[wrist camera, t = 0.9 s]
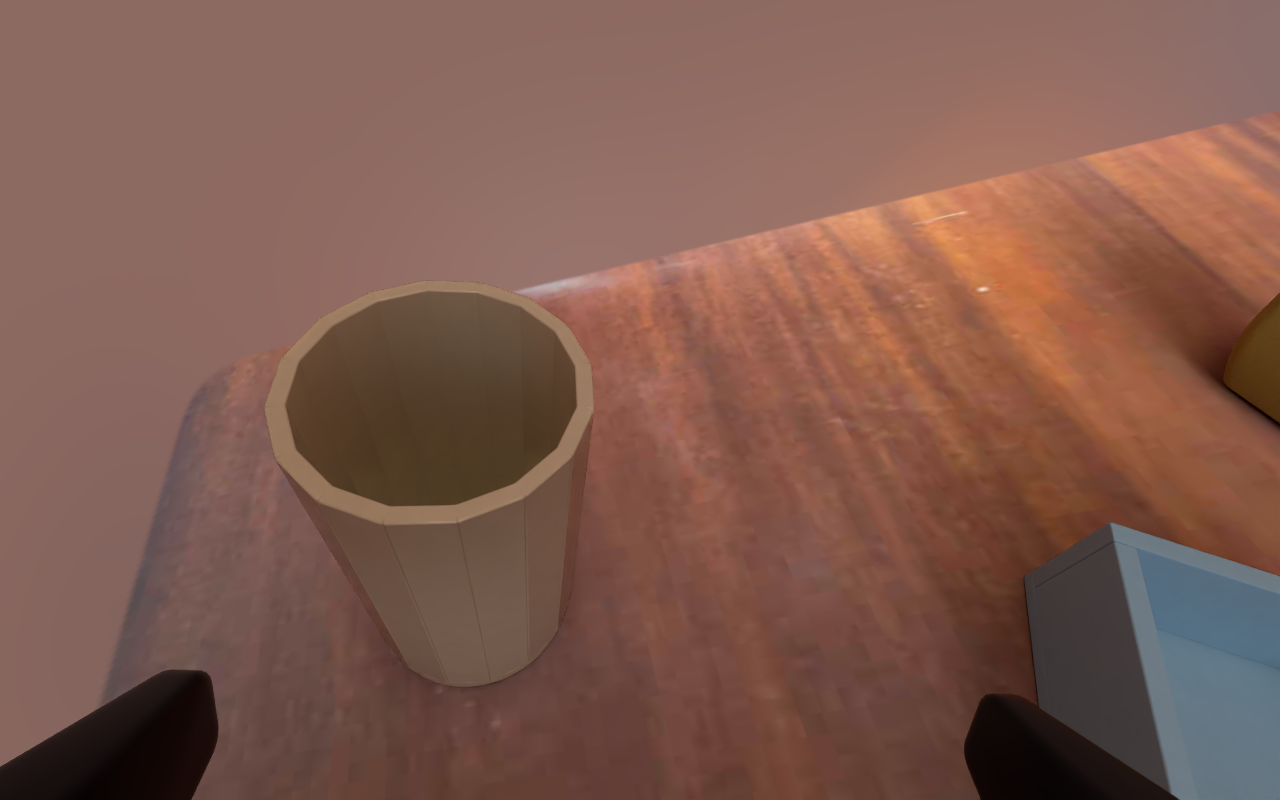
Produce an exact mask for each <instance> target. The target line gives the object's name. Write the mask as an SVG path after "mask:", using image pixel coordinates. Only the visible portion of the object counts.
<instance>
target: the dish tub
mask: <svg viewBox="0 0 1280 800" xmlns="http://www.w3.org/2000/svg"><path fill="white" fill-rule="evenodd" d="M1024 581H1025V590H1026V598H1027V607H1028V616H1029V624H1030V633H1031V642H1032V651H1033V659H1034V668H1035V677H1036V685H1037V694H1038V703H1039V708H1041V709H1042V710H1044V711H1045V712H1047V713H1048V714H1050V715H1051V716H1053V717H1054V718H1056V719H1057V720H1059V721H1061V722H1062V723H1064V724H1065V725H1067V726H1068V727H1070V728H1071V729H1073V730H1074V731H1076V732H1077V733H1079V734H1080V735H1082V736H1083V737H1085V738H1086V739H1088V740H1090V741H1091V742H1093V743H1094V744H1096V745H1097V746H1099V747H1100V748H1102V749H1103V750H1105V751H1106V752H1108V753H1109V754H1111V755H1112V756H1114V757H1116V758H1117V759H1119V760H1120V761H1122V762H1123V763H1125V764H1126V765H1128V766H1129V767H1131V768H1132V769H1134V770H1135V771H1137V772H1138V773H1140V774H1142V775H1143V776H1145V777H1146V778H1148V779H1149V780H1151V781H1152V782H1154V783H1155V784H1157V785H1158V786H1160V787H1161V788H1163V789H1164V790H1166V791H1168V792H1169V793H1171V794H1172V795H1174V796H1175V797H1177V798H1178V799H1180V800H1280V576H1277V575H1274V574H1271V573H1268V572H1265V571H1261V570H1258V569H1255V568H1252V567H1249V566H1246V565H1243V564H1240V563H1236V562H1233V561H1230V560H1227V559H1224V558H1221V557H1218V556H1215V555H1212V554H1208V553H1205V552H1202V551H1199V550H1196V549H1193V548H1190V547H1187V546H1184V545H1180V544H1177V543H1174V542H1171V541H1168V540H1165V539H1162V538H1159V537H1156V536H1152V535H1149V534H1146V533H1143V532H1140V531H1137V530H1134V529H1131V528H1127V527H1124V526H1121V525H1118V524H1115V523H1112V522H1109V523H1108V524H1106V525H1105V526H1103V527H1101V528H1100V529H1098V530H1097V531H1095V532H1094V533H1092V534H1090V535H1089V536H1087V537H1086V538H1084V539H1083V540H1081V541H1079V542H1078V543H1076V544H1075V545H1073V546H1072V547H1070V548H1068V549H1067V550H1065V551H1064V552H1062V553H1060V554H1059V555H1057V556H1056V557H1054V558H1053V559H1051V560H1049V561H1048V562H1046V563H1045V564H1043V565H1042V566H1040V567H1038V568H1037V569H1035V570H1034V571H1033V572H1031V573H1029V574H1028V575H1026V576H1025V577H1024Z"/></svg>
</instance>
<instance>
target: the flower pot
mask: <svg viewBox="0 0 1280 800" xmlns="http://www.w3.org/2000/svg"><path fill="white" fill-rule="evenodd" d="M1223 381H1224V383H1225V385H1227V386H1228V387H1229V388H1230V389H1232V390H1233V391H1235V392H1236V393H1237V394H1239V395H1240V396H1242V397H1243V398H1244V399H1246V400H1247V401H1249V402H1250V403H1251V404H1253V405H1254V406H1256V407H1257V408H1259V409H1260V410H1262V411H1263V412H1264V413H1266V414H1267V415H1269V416H1270V417H1272V418H1273V419H1274V420H1276V421H1277V422H1279V423H1280V293H1279V294H1278V295H1277V296H1276V297H1275V298H1274V299H1273V300H1272V301H1271V302H1270V303H1269V304H1268V305H1267V306H1266V307H1265V308H1264V309H1263V310H1262V311H1261V312H1260V313H1259V314H1258V315H1257V316H1256V317H1255V318H1254V319H1253V320H1252V321H1251V323H1250V324H1249V325H1248V326H1247V327H1246V329H1245V330H1244V331H1243V333H1242V334H1241V336H1240V337H1239V339H1238V340H1237V342H1236V344H1235V345H1234V347H1233V349H1232V351H1231V353H1230V356H1229V358H1228V361H1227V364H1226V368H1225V372H1224V377H1223Z"/></svg>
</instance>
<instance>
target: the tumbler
mask: <svg viewBox="0 0 1280 800" xmlns="http://www.w3.org/2000/svg"><path fill="white" fill-rule="evenodd" d="M264 407H265V408H264V412H265V417H266V422H267V426H268V431H269V436H270V440H271V445H272V450H273V454H274V458H275V460H276V462H277V463H278V465H279V467H280V468H281V470H282V472H283V473H284V475H285V477H286V478H287V480H288V482H289V483H290V485H291V487H292V488H293V490H294V492H295V493H296V495H297V497H298V498H299V500H300V501H301V503H302V505H303V506H304V508H305V510H306V511H307V513H308V515H309V516H310V518H311V520H312V521H313V523H314V525H315V526H316V528H317V530H318V531H319V533H320V535H321V536H322V538H323V540H324V541H325V543H326V545H327V546H328V548H329V550H330V551H331V553H332V555H333V556H334V558H335V560H336V561H337V563H338V565H339V566H340V568H341V570H342V571H343V573H344V574H345V576H346V578H347V579H348V581H349V583H350V584H351V586H352V588H353V589H354V591H355V593H356V594H357V596H358V598H359V599H360V601H361V603H362V604H363V606H364V608H365V609H366V611H367V613H368V614H369V616H370V618H371V619H372V621H373V623H374V624H375V626H376V628H377V629H378V631H379V633H380V634H381V636H382V638H383V639H384V641H385V642H386V644H387V645H388V646H389V647H390V648H391V649H392V650H393V652H394V653H395V654H396V655H397V657H398V658H399V659H400V660H401V661H402V662H403V663H404V664H405V665H406V666H407V667H408V668H409V669H411V670H412V671H414V672H415V673H417V674H418V675H420V676H422V677H424V678H426V679H428V680H430V681H433V682H436V683H440V684H443V685H449V686H456V687H472V686H479V685H486V684H489V683H493V682H497V681H499V680H502V679H504V678H507V677H509V676H511V675H513V674H515V673H517V672H518V671H520V670H522V669H523V668H525V667H526V666H527V665H529V664H530V663H531V662H533V661H534V660H535V659H536V658H537V657H538V656H539V655H540V654H541V653H542V652H543V651H544V650H545V649H546V647H547V646H548V645H549V644H550V643H551V641H552V640H553V638H554V637H555V635H556V633H557V632H558V630H559V628H560V626H561V623H562V621H563V619H564V616H565V613H566V609H567V605H568V602H569V600H570V596H571V589H572V581H573V573H574V565H575V557H576V549H577V542H578V534H579V526H580V518H581V510H582V502H583V494H584V486H585V478H586V471H587V463H588V455H589V447H590V439H591V431H592V423H593V415H594V394H593V378H592V366H591V363H590V361H589V359H588V358H587V356H586V354H585V353H584V351H583V349H582V348H581V346H580V345H579V343H578V341H577V340H576V338H575V336H574V335H573V333H572V331H571V330H570V328H569V327H568V326H567V325H566V324H565V323H564V322H562V321H561V320H559V319H558V318H557V317H555V316H554V315H553V314H551V313H550V312H548V311H547V310H546V309H544V308H543V307H541V306H540V305H539V304H537V303H536V302H534V301H533V300H532V299H529V298H528V297H525V296H522V295H519V294H516V293H512V292H509V291H506V290H503V289H500V288H497V287H493V286H490V285H487V284H484V283H479V282H457V281H432V280H427V281H420V282H415V283H410V284H406V285H401V286H396V287H392V288H388V289H383V290H378V291H374V292H371V293H367V294H366V295H364V296H362V297H360V298H358V299H356V300H354V301H352V302H350V303H348V304H346V305H345V306H343V307H341V308H339V309H337V310H335V311H333V312H331V313H329V314H327V315H325V316H323V317H322V318H320V319H319V320H317V321H316V322H315V324H314V325H313V326H312V327H311V328H310V329H309V330H308V331H307V332H306V333H305V334H304V335H303V336H302V337H301V338H300V339H299V340H298V341H297V342H296V343H295V344H294V345H293V346H292V347H291V348H290V349H289V350H288V352H287V353H286V354H285V355H284V356H283V357H282V359H281V360H280V363H279V366H278V368H277V371H276V374H275V377H274V380H273V383H272V385H271V388H270V391H269V394H268V397H267V400H266V403H265V405H264Z"/></svg>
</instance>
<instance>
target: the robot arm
mask: <svg viewBox="0 0 1280 800" xmlns="http://www.w3.org/2000/svg"><path fill="white" fill-rule="evenodd" d="M217 738H218V720H217V713H216V706H215V699H214V692H213V685H212V681H211V677H210V676H209V675H208V673H206V672H204V671H199V670H167V671H163V672H161V673H159V674H157V675H155V676H153V677H151V678H150V679H148V680H146V681H145V682H143V683H141V684H139V685H138V686H136V687H134V688H133V689H131V690H129V691H128V692H126V693H124V694H123V695H121V696H119V697H117V698H116V699H114V700H112V701H111V702H109V703H107V704H106V705H104V706H102V707H101V708H99V709H97V710H95V711H94V712H92V713H90V714H89V715H87V716H85V717H84V718H82V719H80V720H79V721H77V722H75V723H74V724H72V725H70V726H68V727H67V728H65V729H64V730H62V731H60V732H58V733H57V734H55V735H53V736H52V737H50V738H48V739H47V740H45V741H43V742H41V743H40V744H38V745H36V746H35V747H33V748H31V749H30V750H28V751H26V752H24V753H23V754H21V755H19V756H18V757H16V758H15V759H13V760H11V761H9V762H8V763H6V764H4V765H2V766H1V767H0V800H191V799H192V797H193V795H194V793H195V791H196V789H197V786H198V784H199V782H200V780H201V778H202V776H203V774H204V772H205V769H206V767H207V765H208V763H209V761H210V759H211V757H212V754H213V752H214V749H215V746H216V743H217ZM964 753H965V759H966V763H967V766H968V769H969V771H970V774H971V776H972V779H973V781H974V784H975V786H976V789H977V791H978V793H979V796H980V798H981V800H1180V799H1178V798H1177V797H1175V796H1174V795H1172V794H1171V793H1169V792H1168V791H1166V790H1164V789H1163V788H1161V787H1160V786H1158V785H1157V784H1155V783H1154V782H1152V781H1151V780H1149V779H1148V778H1146V777H1145V776H1143V775H1142V774H1140V773H1138V772H1137V771H1135V770H1134V769H1132V768H1131V767H1129V766H1128V765H1126V764H1125V763H1123V762H1122V761H1120V760H1119V759H1117V758H1116V757H1114V756H1112V755H1111V754H1109V753H1108V752H1106V751H1105V750H1103V749H1102V748H1100V747H1099V746H1097V745H1096V744H1094V743H1093V742H1091V741H1090V740H1088V739H1086V738H1085V737H1083V736H1082V735H1080V734H1079V733H1077V732H1076V731H1074V730H1073V729H1071V728H1070V727H1068V726H1067V725H1065V724H1064V723H1062V722H1061V721H1059V720H1057V719H1056V718H1054V717H1053V716H1051V715H1050V714H1048V713H1047V712H1045V711H1044V710H1042V709H1041V708H1039V707H1038V706H1036V705H1035V704H1033V703H1031V702H1030V701H1028V700H1027V699H1025V698H1023V697H1021V696H1019V695H1014V694H987V695H985V696H984V697H983V698H982V699H981V700H980V702H979V705H978V707H977V710H976V713H975V715H974V718H973V721H972V724H971V726H970V729H969V732H968V734H967V737H966V740H965V744H964Z"/></svg>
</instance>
